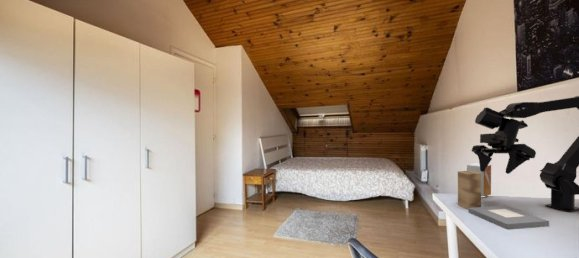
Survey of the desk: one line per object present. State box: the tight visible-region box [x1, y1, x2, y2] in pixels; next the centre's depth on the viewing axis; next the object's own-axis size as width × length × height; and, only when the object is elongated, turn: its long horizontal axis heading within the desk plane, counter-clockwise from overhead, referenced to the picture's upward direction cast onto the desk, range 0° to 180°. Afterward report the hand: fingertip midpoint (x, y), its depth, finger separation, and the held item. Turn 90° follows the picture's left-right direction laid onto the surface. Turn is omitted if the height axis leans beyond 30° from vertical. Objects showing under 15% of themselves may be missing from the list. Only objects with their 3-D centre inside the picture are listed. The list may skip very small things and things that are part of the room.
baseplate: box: [468, 205, 550, 230], centre depth 81 cm, size 14×14×2 cm
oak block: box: [457, 170, 482, 211], centre depth 92 cm, size 5×5×13 cm
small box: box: [466, 162, 492, 199], centre depth 106 cm, size 8×6×13 cm
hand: (493, 172), depth 89 cm, fingers open, 9 cm apart
